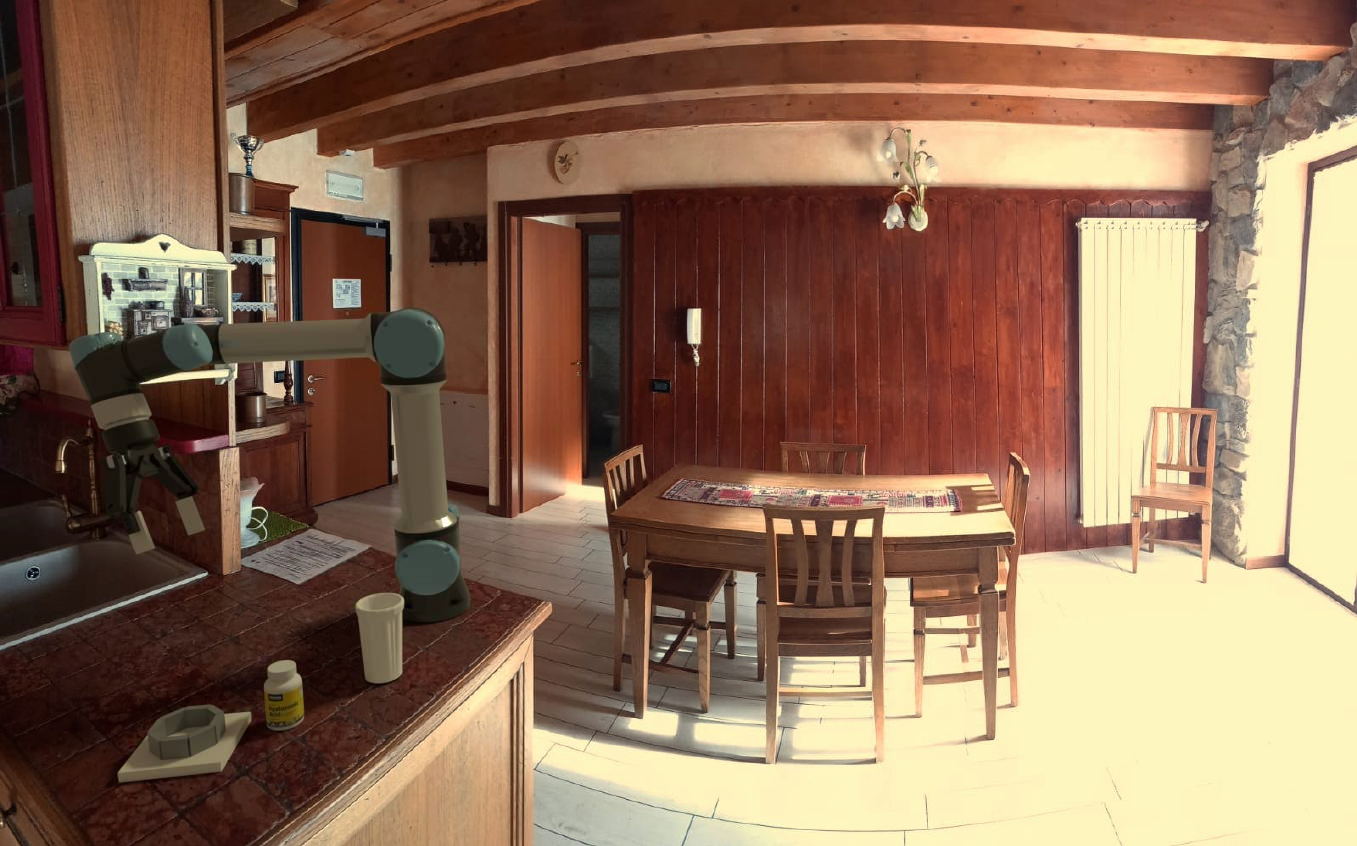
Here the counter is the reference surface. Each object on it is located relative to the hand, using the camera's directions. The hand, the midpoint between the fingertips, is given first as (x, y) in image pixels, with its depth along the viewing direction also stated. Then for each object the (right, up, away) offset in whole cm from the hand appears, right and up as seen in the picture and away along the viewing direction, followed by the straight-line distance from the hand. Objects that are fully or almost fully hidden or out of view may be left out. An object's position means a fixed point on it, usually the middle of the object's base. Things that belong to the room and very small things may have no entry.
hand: (172, 541), depth 128 cm
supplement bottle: (+24, -28, -8) cm, 37 cm away
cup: (+34, -25, +6) cm, 43 cm away
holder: (+13, -29, -16) cm, 35 cm away
